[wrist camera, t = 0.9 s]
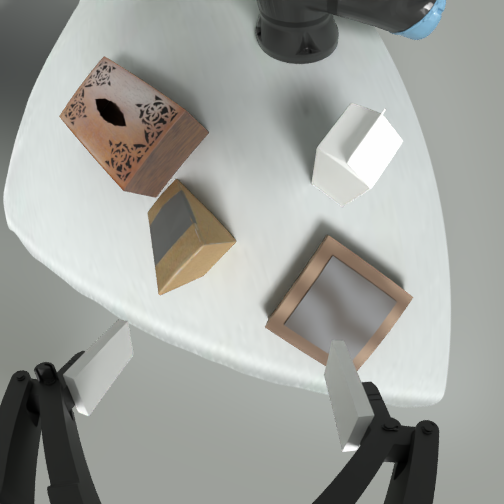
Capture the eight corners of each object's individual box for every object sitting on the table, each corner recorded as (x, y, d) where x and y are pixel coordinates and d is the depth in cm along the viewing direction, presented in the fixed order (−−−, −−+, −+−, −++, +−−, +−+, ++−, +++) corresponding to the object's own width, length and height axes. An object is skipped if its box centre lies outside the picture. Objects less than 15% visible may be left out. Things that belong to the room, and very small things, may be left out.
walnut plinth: (326, 235, 41) (329, 235, 37) (404, 291, 39) (413, 297, 35) (268, 318, 44) (264, 327, 39) (345, 368, 42) (349, 381, 38)
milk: (363, 178, 39) (417, 130, 18) (341, 208, 40) (382, 184, 19) (331, 154, 40) (357, 85, 18) (309, 184, 41) (318, 135, 19)
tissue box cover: (209, 133, 44) (186, 110, 34) (156, 197, 46) (123, 190, 36) (130, 76, 46) (104, 56, 36) (89, 128, 48) (59, 116, 38)
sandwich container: (177, 176, 45) (126, 156, 30) (238, 240, 44) (206, 244, 29) (146, 213, 46) (89, 207, 32) (202, 276, 45) (158, 296, 31)
